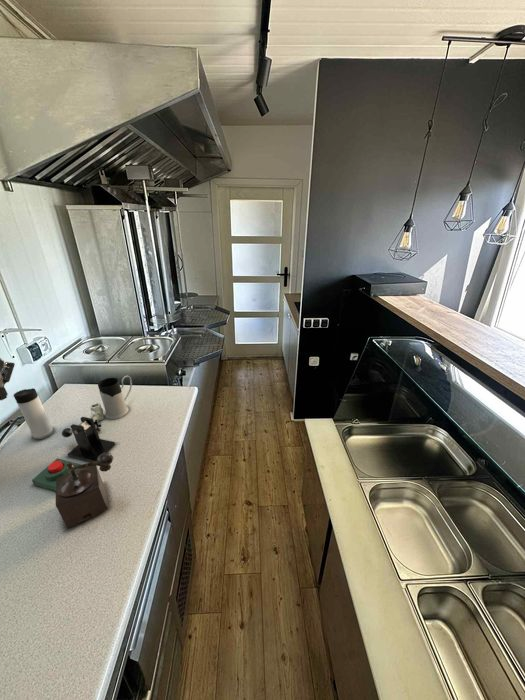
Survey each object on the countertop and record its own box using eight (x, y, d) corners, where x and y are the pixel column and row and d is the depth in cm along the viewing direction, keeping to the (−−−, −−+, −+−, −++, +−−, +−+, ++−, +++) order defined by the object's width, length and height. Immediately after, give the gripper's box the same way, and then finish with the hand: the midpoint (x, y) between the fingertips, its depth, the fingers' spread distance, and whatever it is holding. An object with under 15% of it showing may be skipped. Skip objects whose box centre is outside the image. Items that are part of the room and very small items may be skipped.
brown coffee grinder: (66, 531, 76) (41, 485, 68) (65, 500, 84) (43, 455, 76) (128, 502, 83) (112, 457, 75) (121, 475, 92) (107, 432, 84)
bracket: (68, 456, 99) (55, 428, 94) (88, 438, 107) (78, 411, 102) (96, 463, 96) (85, 434, 91) (115, 444, 104) (106, 416, 99)
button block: (34, 485, 89) (29, 476, 87) (59, 462, 97) (55, 454, 95) (61, 493, 86) (57, 483, 85) (85, 469, 94) (82, 460, 92)
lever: (63, 440, 101) (57, 433, 100) (71, 433, 104) (65, 427, 103) (84, 432, 95) (78, 424, 95) (92, 426, 98) (86, 418, 97)
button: (47, 472, 89) (45, 468, 88) (57, 463, 92) (55, 459, 91) (56, 474, 88) (54, 470, 87) (66, 465, 91) (64, 461, 90)
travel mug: (30, 441, 106) (8, 397, 98) (38, 429, 112) (18, 387, 103) (48, 439, 107) (28, 395, 99) (56, 427, 113) (37, 384, 105)
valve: (91, 416, 119) (84, 436, 108) (87, 403, 116) (79, 422, 106) (109, 413, 120) (103, 432, 110) (105, 400, 118) (99, 418, 107)
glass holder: (101, 415, 120) (91, 385, 113) (129, 397, 131) (122, 369, 124) (114, 421, 116) (105, 390, 109) (143, 402, 127) (135, 373, 120)
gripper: (-9, 335, 84) (15, 385, 92) (-65, 355, 73) (-33, 410, 80) (10, 338, 82) (33, 388, 90) (-45, 358, 71) (-14, 414, 78)
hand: (2, 398), depth 85 cm, fingers closed
